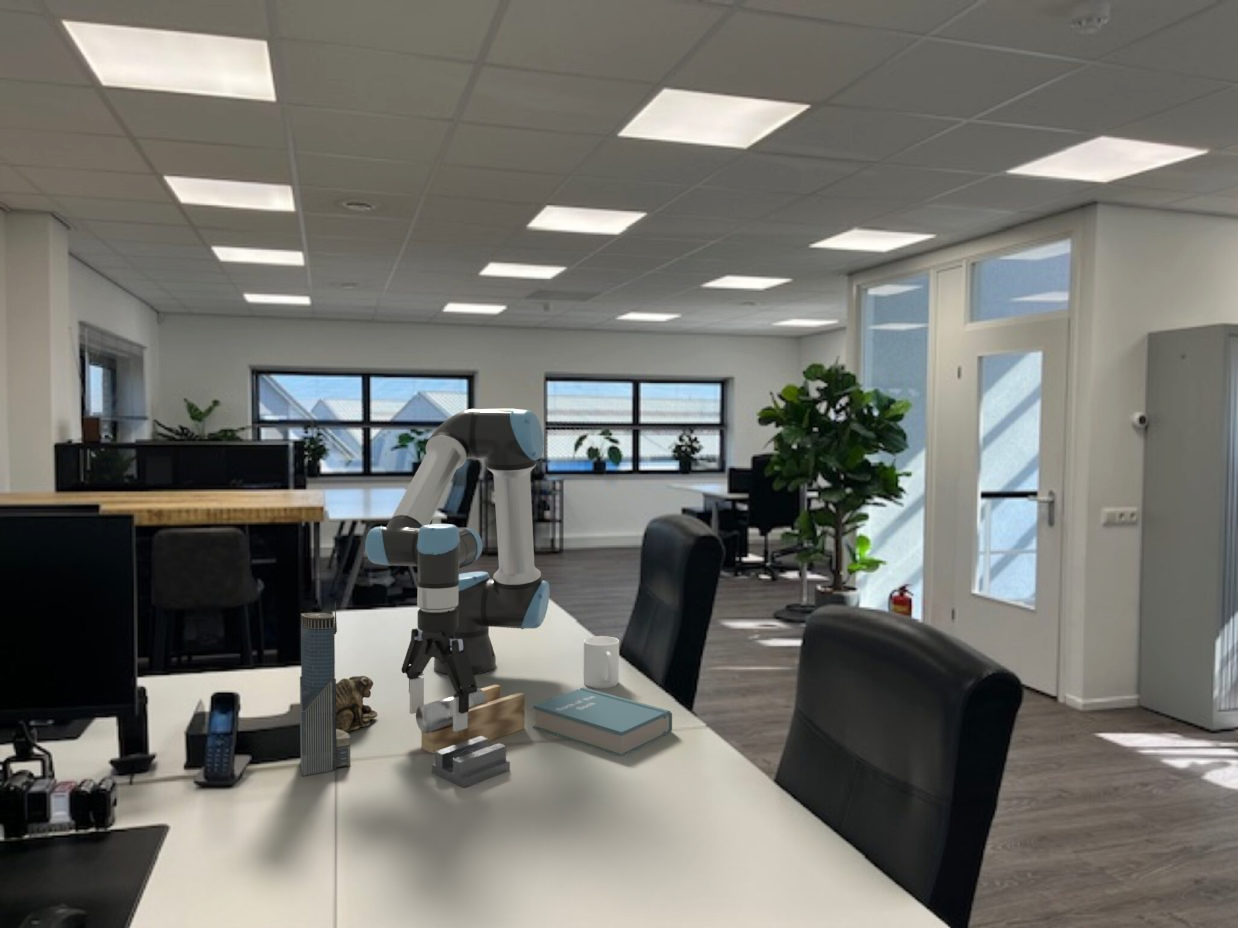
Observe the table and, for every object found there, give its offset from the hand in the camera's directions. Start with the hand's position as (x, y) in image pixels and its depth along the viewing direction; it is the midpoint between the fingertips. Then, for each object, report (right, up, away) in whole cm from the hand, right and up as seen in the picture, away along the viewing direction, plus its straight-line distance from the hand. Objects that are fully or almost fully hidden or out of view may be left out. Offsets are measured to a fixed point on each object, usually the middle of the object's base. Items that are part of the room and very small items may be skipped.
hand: (437, 720), depth 158 cm
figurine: (-20, -5, +10) cm, 23 cm away
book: (+31, -6, +10) cm, 33 cm away
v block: (+8, -6, -10) cm, 14 cm away
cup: (+30, -4, +38) cm, 49 cm away
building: (-19, -6, -9) cm, 22 cm away
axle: (+2, +1, +2) cm, 3 cm away
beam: (+5, -5, +6) cm, 9 cm away
